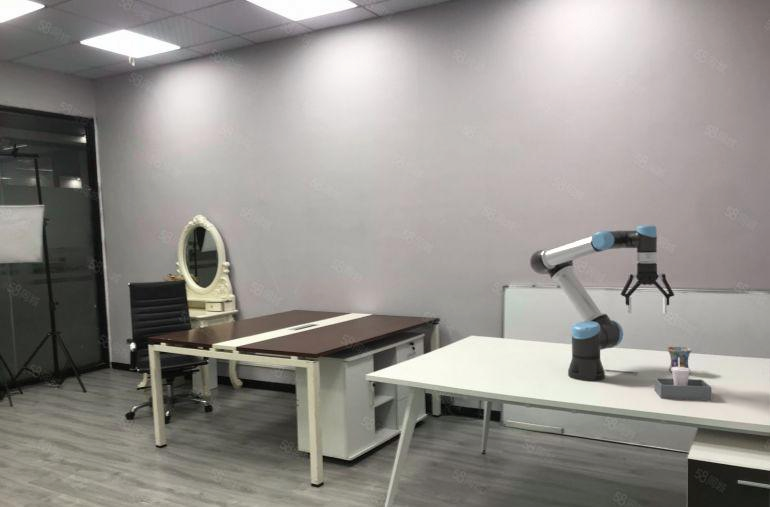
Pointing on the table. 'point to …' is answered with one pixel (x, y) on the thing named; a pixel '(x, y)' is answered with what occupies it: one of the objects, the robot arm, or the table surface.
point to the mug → (681, 353)
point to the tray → (682, 389)
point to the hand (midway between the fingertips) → (647, 313)
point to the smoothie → (680, 374)
